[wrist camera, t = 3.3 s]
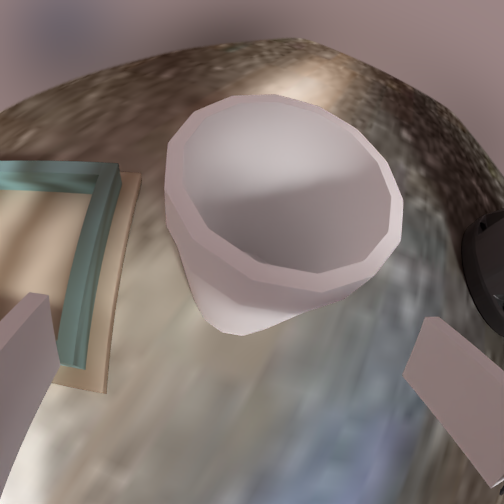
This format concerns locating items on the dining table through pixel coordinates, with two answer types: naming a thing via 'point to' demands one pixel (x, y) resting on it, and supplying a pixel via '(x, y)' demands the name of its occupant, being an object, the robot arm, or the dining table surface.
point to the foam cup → (276, 209)
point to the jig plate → (68, 254)
